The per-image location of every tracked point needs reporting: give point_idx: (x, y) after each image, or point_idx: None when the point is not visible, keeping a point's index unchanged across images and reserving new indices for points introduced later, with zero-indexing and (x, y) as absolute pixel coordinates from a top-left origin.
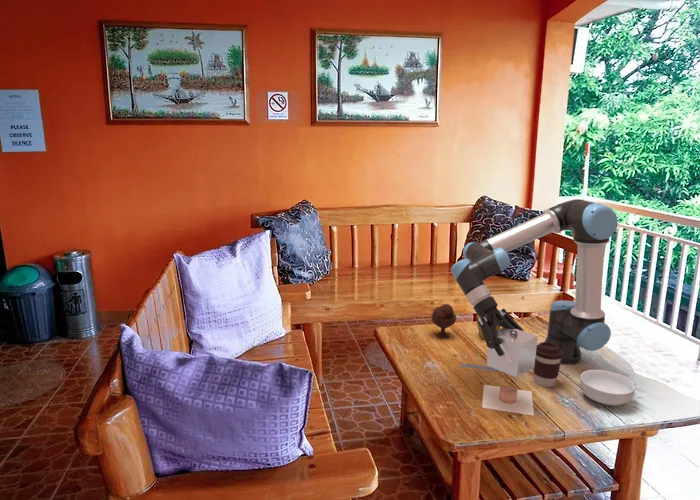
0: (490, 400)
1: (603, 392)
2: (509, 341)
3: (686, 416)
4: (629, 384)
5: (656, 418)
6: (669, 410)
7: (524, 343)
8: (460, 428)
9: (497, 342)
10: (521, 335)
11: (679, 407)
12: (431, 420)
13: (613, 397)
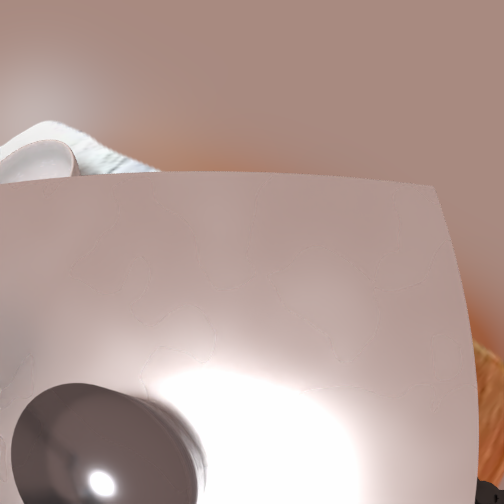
0: None
1: (73, 172)
2: (470, 355)
3: (52, 123)
4: (8, 166)
5: (77, 139)
6: (41, 140)
7: (309, 182)
8: (481, 415)
9: (490, 501)
10: (43, 340)
11: (27, 138)
12: (500, 481)
13: (76, 162)
